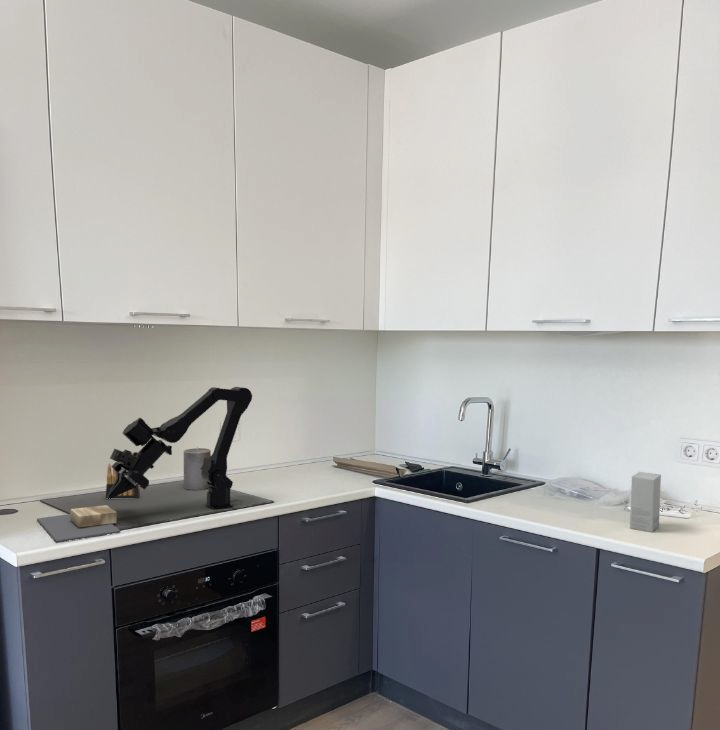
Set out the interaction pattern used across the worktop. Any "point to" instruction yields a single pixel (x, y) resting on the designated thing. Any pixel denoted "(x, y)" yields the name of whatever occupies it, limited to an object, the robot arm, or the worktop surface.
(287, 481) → the worktop surface
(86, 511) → the wooden block
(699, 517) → the worktop surface
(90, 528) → the rubber mat
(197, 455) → the pillar candle
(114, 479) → the ammunition clip
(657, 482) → the skincare box
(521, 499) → the worktop surface
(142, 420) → the robot arm
